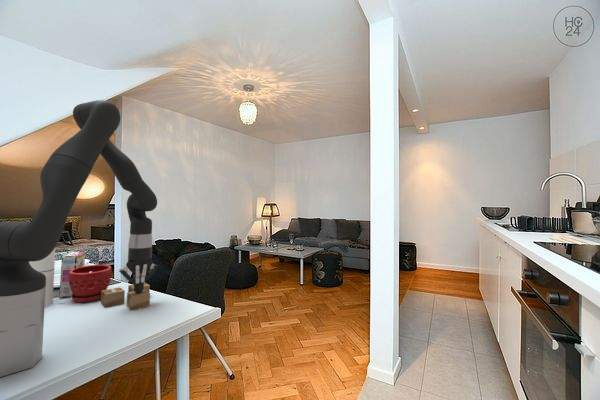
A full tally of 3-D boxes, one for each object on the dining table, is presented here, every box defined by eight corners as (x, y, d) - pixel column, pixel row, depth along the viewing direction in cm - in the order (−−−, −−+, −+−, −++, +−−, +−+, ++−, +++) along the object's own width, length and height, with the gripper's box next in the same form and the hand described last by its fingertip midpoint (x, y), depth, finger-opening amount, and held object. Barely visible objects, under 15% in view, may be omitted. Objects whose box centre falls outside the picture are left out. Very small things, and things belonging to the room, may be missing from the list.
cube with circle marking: (149, 297, 107) (149, 284, 107) (132, 301, 102) (132, 288, 102) (144, 294, 111) (144, 281, 111) (127, 297, 106) (128, 284, 106)
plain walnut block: (149, 306, 97) (150, 293, 98) (130, 311, 93) (131, 296, 93) (144, 302, 102) (145, 289, 102) (126, 306, 97) (127, 292, 97)
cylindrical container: (19, 309, 92) (23, 237, 92) (34, 301, 98) (37, 235, 99) (44, 307, 94) (48, 237, 94) (57, 300, 100) (60, 235, 101)
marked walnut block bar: (124, 304, 99) (124, 290, 99) (104, 308, 95) (105, 293, 95) (119, 299, 103) (120, 286, 103) (100, 303, 99) (101, 290, 99)
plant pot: (67, 297, 104) (69, 267, 104) (108, 291, 113) (109, 263, 113) (67, 307, 94) (69, 274, 95) (112, 299, 103) (113, 269, 103)
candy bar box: (74, 297, 105) (76, 255, 105) (58, 298, 103) (60, 256, 103) (84, 288, 115) (85, 251, 115) (69, 289, 113) (71, 251, 113)
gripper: (122, 249, 91) (120, 299, 90) (163, 245, 100) (161, 291, 100) (116, 246, 96) (114, 294, 95) (156, 243, 105) (154, 286, 105)
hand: (138, 292), depth 98 cm, fingers closed
